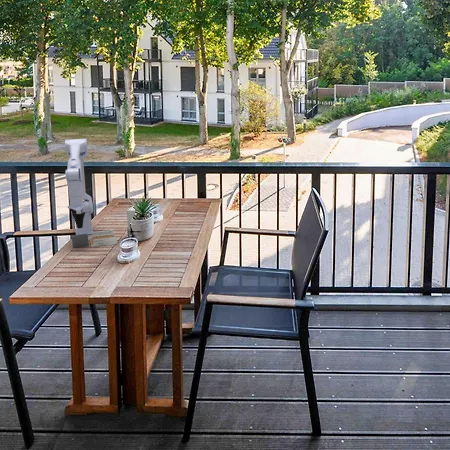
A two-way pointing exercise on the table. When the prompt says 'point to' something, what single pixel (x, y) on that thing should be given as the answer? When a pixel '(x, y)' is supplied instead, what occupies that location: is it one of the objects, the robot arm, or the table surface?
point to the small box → (130, 214)
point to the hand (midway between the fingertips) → (79, 225)
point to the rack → (103, 238)
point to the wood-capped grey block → (80, 240)
